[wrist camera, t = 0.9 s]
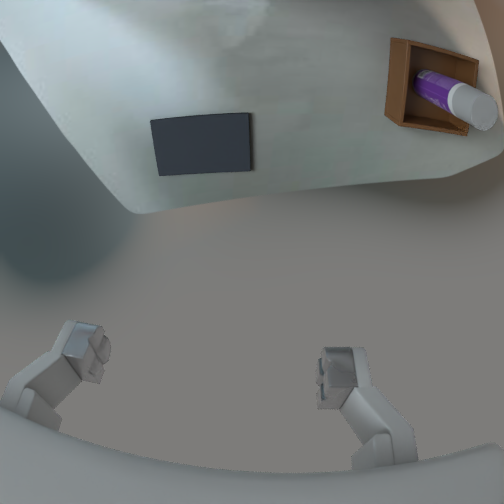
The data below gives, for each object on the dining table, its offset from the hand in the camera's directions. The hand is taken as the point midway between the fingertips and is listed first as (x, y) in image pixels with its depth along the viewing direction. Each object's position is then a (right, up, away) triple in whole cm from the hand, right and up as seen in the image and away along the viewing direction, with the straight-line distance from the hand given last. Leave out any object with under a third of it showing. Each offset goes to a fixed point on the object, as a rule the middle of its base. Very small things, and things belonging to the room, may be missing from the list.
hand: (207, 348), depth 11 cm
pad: (-6, +19, +33) cm, 39 cm away
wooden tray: (+27, +28, +26) cm, 47 cm away
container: (+27, +28, +26) cm, 47 cm away
